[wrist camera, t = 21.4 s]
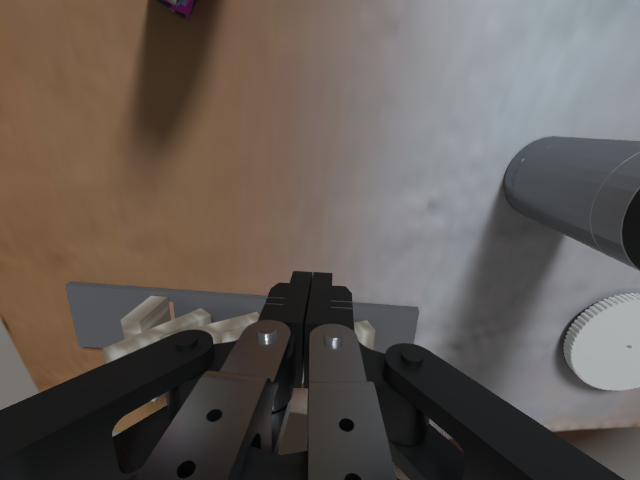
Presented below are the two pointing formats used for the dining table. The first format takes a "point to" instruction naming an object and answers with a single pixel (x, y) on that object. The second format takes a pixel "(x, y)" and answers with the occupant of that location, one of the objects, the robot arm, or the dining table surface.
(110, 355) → the ivory domino
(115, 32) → the dining table surface
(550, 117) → the dining table surface
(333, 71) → the dining table surface
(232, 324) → the ivory domino
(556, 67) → the dining table surface
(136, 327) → the domino
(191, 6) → the candy bar box
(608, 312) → the plastic lid
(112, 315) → the domino board
